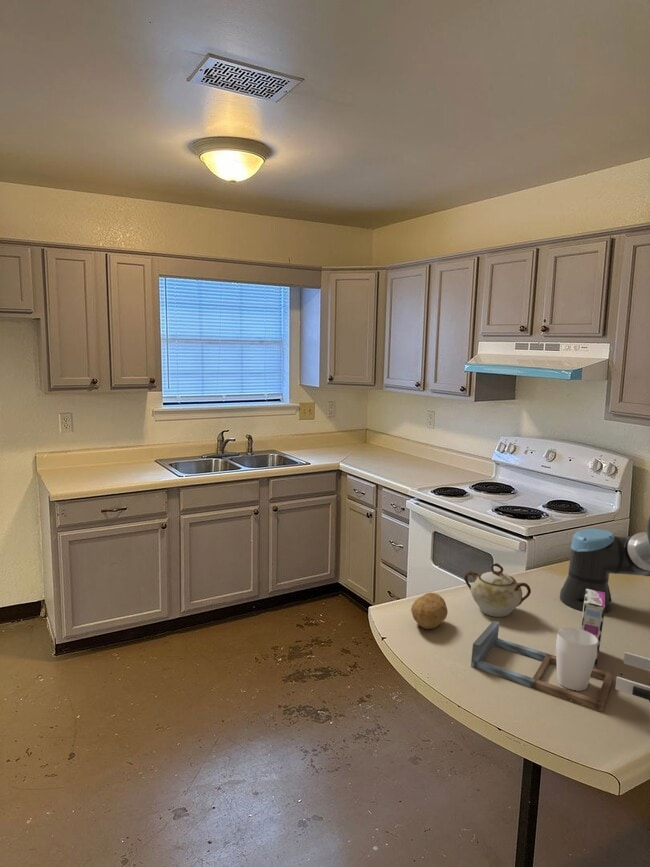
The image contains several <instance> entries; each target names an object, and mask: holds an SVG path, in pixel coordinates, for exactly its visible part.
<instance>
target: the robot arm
mask: <svg viewBox="0 0 650 867" xmlns="http://www.w3.org/2000/svg"><path fill="white" fill-rule="evenodd" d="M610 574H614V575H628V576H642V577H650V516H649V517H648V520H647V525H646V532H645V531H643V532H641V531H640V532H637V533H635V534H633V535H631V536H622V535H621V536H618V535H614V533H613V532H611V531H609V530H606V529H600V528H585V529H579V530H577V531H576V532H575V533H574V534H573V536H572V541H571V543H570V558H569V565H568V573H567V578H566V579H565V581H564V584H563V586H562V587H561V589H560V591H559V599H560V601H561V602H562V603H563V604H564V605H567V606H569V607H571V608H572V609H575V610H579V611H582V612H583V606H584V599H585V592H586V589H590V590H596V591H600V592H605V612H604V613H607V612H609V611H611V610H612V605H613V604H612V603H613V599H612V594H611V590H610V586H609V579H610ZM623 665H627V666H631V667H634V668H638V669H641V670H645V671H648V672H650V658H649V657H646V656H641V655H639V654H635V653H633V652H632V653H631V652H628V651H624V656H623ZM614 687H615V689H614V690H616V691H619V692H622V693H625V694H629V695H631V696H634V697H638V698H641V699H643V700H647V701H649V703H650V685H647V684H643V683H639V682H637V681H634V680H633V681H632V680H631V679H628V678H623V677H620V676H616V680H615V686H614Z"/></svg>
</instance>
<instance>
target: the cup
mask: <svg viewBox="0 0 650 867" xmlns="http://www.w3.org/2000/svg"><path fill="white" fill-rule="evenodd" d="M597 644H598V639H597V638H596V637H595V636H594V635H593V634H591V633H590V632H587V631H585V630H582V629H580V628H577V627H568V626H567V627H561V628H560V629H558V630H557V636H556V641H555V656H556V662H557V665H556V678H557V679H556V680H557V682H558V683H559V684H560V685H561V687H563V688H564V689H567V690H570V689H571V690H570V691H575V690H576V691H575V692H578V691H580V692H581V691H585V690H586V689H588V685H589V682H590V679H591V677H592V676H591V672H592V669H593V666H594V662H595V659H596V656H597Z"/></svg>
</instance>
